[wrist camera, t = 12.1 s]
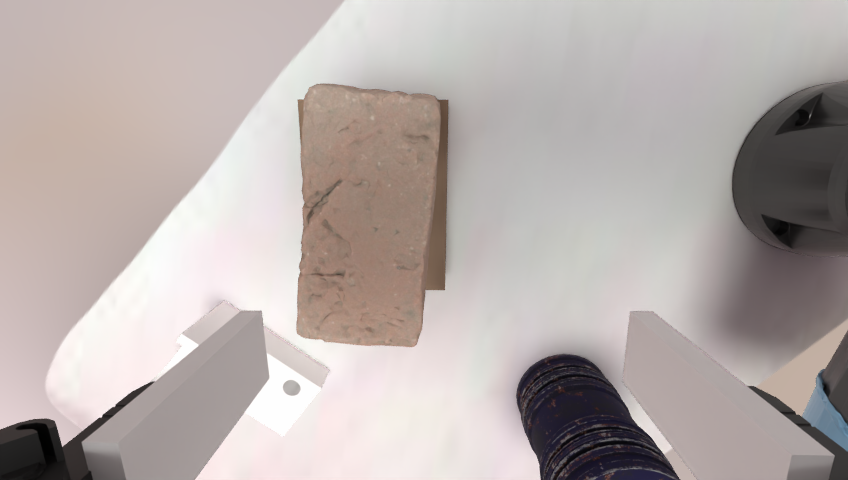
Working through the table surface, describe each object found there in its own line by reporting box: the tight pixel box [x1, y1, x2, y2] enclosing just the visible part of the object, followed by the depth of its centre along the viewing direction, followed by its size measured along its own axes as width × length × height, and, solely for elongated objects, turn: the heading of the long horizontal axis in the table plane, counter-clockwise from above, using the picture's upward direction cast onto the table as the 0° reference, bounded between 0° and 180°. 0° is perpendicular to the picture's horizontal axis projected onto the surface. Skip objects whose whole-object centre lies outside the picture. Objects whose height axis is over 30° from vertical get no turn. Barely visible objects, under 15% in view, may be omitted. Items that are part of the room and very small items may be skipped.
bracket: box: [151, 301, 330, 436], centre depth 39 cm, size 13×7×8 cm, turn 53°
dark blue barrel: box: [517, 354, 680, 480], centre depth 35 cm, size 10×10×15 cm
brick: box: [297, 84, 441, 347], centre depth 27 cm, size 17×8×5 cm, turn 175°
